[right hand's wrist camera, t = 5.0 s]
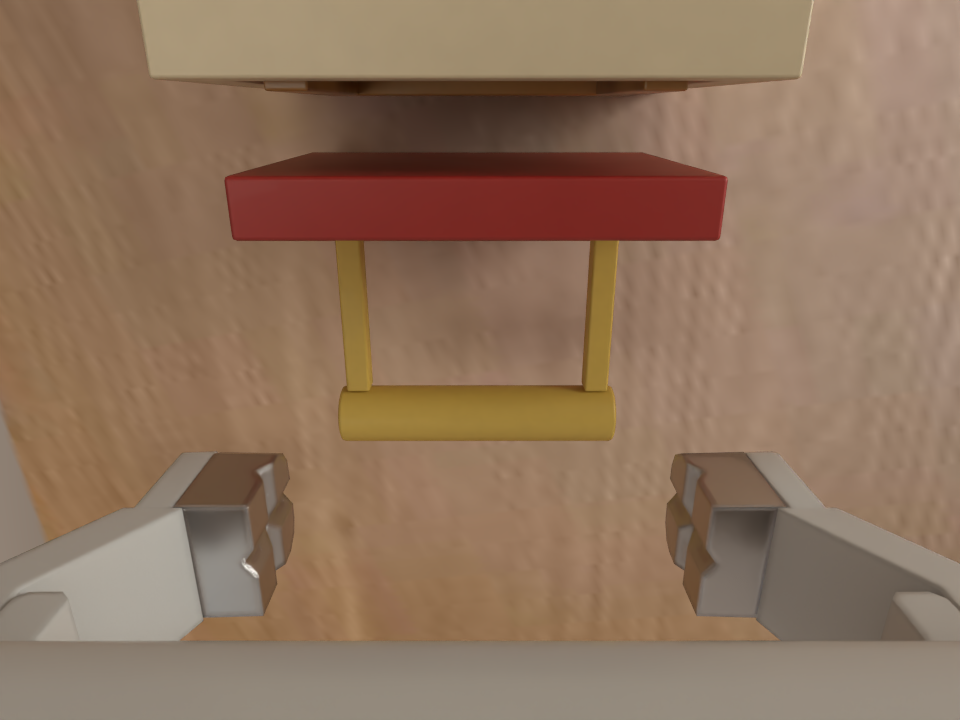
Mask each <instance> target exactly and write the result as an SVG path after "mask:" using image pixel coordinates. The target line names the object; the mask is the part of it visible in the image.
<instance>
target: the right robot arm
mask: <svg viewBox="0 0 960 720" xmlns="http://www.w3.org/2000/svg"><path fill="white" fill-rule="evenodd" d="M289 479H290V477H289V470H288V464H287V459H286V458H285V456H284V455H283V453H239V452H219V453H218V452H216V451H214V452H187V453H182V454H181V455H180V456H179V457H178V458H177V459H176V460H175V461H174V463H173V464H172V465H171V466H170V467H169V468H168V469H167V471H166V472H165V473H164V474H163V475H162V476H161V477H160V479H159V480H158V481H157V482H156V483H155V484H154V485H153V487H152V488H151V489H150V490H149V491H148V492H147V493H146V495H145V496H144V497H143V498H142V499H141V500H140V501H139V503H138V504H137V505H136V506H135V507H134V508H122V509H120V510H117V511H115V512H113V513H111V514H109V515H106V516H104V517H102V518H100V519H97V520H95V521H93V522H91V523H89V524H86V525H84V526H82V527H80V528H78V529H75V530H73V531H71V532H69V533H66V534H64V535H62V536H60V537H58V538H55V539H53V540H51V541H49V542H46V543H44V544H42V545H40V546H38V547H35V548H33V549H31V550H29V551H27V552H24V553H22V554H20V555H18V556H15V557H13V558H11V559H9V560H7V561H4V562H2V563H0V720H960V563H957V562H955V561H953V560H951V559H949V558H946V557H944V556H942V555H940V554H937V553H935V552H933V551H931V550H929V549H926V548H924V547H922V546H920V545H918V544H915V543H913V542H911V541H909V540H907V539H904V538H902V537H900V536H898V535H896V534H893V533H891V532H889V531H887V530H884V529H882V528H880V527H878V526H876V525H873V524H871V523H869V522H867V521H865V520H862V519H860V518H858V517H856V516H854V515H851V514H849V513H847V512H845V511H842V510H840V509H838V508H826V507H825V506H824V505H823V504H822V503H821V502H820V500H819V499H818V498H817V497H816V496H815V495H814V494H813V492H812V491H811V490H810V489H809V488H808V487H807V486H806V484H805V483H804V482H803V481H802V480H801V479H800V478H799V476H798V475H797V474H796V473H795V472H794V471H793V470H792V468H791V467H790V466H789V465H788V464H787V463H786V462H785V460H784V459H783V458H782V457H781V456H780V455H779V454H778V453H775V452H772V451H767V452H745V453H744V452H725V453H684V454H677V455H675V457H674V460H673V463H672V469H671V476H670V480H671V482H672V484H673V486H674V488H675V490H676V492H677V493H676V494H675V496H674V497H673V498H672V499H671V500H670V501H669V502H668V503H667V511H666V522H665V523H666V539H667V544H668V548H669V552H670V555H671V557H672V560H673V562H674V564H675V565H677V566H678V567H680V568H681V569H683V570H684V578H683V586H684V588H685V590H686V593H687V595H688V597H689V599H690V602H691V604H692V606H693V609H694V611H695V613H696V615H697V616H719V617H755V618H757V619H756V620H757V621H758V622H759V623H760V624H762V625H763V626H764V627H765V628H766V629H768V630H769V631H770V632H771V633H772V634H774V635H775V636H776V637H777V638H778V639H780V640H781V641H179V640H181V639H182V638H183V637H184V636H185V635H187V634H188V633H189V632H190V631H191V630H193V629H194V628H195V627H196V626H197V625H199V624H200V623H201V622H202V621H203V618H204V617H240V616H263V615H264V613H265V611H266V609H267V606H268V604H269V602H270V599H271V597H272V595H273V592H274V590H275V588H276V585H277V578H276V570H277V569H279V568H280V567H282V566H283V565H285V564H286V562H287V559H288V557H289V554H290V552H291V548H292V542H293V536H294V510H293V503H292V502H291V501H290V500H289V499H288V498H287V497H286V496H285V495H284V493H283V491H284V489H285V487H286V485H287V483H288V481H289Z"/></svg>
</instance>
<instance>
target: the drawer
mask: <svg viewBox="0 0 960 720" xmlns="http://www.w3.org/2000/svg"><path fill="white" fill-rule="evenodd" d="M263 82H264V88H265V90H266V91H275V92H289V93H302V94H316V95H330V96H624V95H637V94H650V93H664V92H677V91H686V90H687V88H688V81H263ZM727 182H728V180H727V177H725V176H723V175H719V174H716V173H712V172H709V171H705V170H702V169H698V168H695V167H691V166H688V165H684V164H681V163H677V162H674V161H670V160H667V159H663V158H660V157H656V156H652V155H649V154H645V153H309V154H306V155H302V156H298V157H295V158H291V159H287V160H284V161H280V162H277V163H273V164H269V165H266V166H262V167H258V168H255V169H251V170H248V171H244V172H240V173H237V174H233V175H229V176H227V177H225V188H226V195H227V203H228V210H229V217H230V224H231V232H232V237H233V239H234V240H237V241H335V244H336V257H337V269H338V282H339V294H340V306H341V319H342V331H343V344H344V356H345V368H346V381H347V386H345V387H343V389H342V391H341V394H340V399H339V408H338V422H339V430H340V434H341V437H342V439H343V440H346V441H609V440H611V439H612V438H613V435H614V432H615V426H616V404H615V397H614V393H613V390H612V388H611V387H610V386H608V374H609V361H610V348H611V335H612V322H613V309H614V296H615V283H616V270H617V257H618V244H619V241H715V240H718V239H719V238H720V234H721V227H722V219H723V212H724V204H725V197H726V189H727ZM364 241H590V255H589V271H588V288H587V304H586V320H585V337H584V353H583V369H582V384H583V385H402V386H371V385H372V382H373V379H372V363H371V348H370V332H369V317H368V301H367V286H366V271H365V255H364Z"/></svg>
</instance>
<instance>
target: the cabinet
mask: <svg viewBox="0 0 960 720" xmlns="http://www.w3.org/2000/svg"><path fill="white" fill-rule="evenodd" d="M813 3H814V0H137V6H138V12H139V18H140V24H141V29H142V35H143V41H144V47H145V53H146V59H147V65H148V71H149V75H150V77H151V78H153V79H158V80H170V81H182V82H194V83H206V84H218V85H230V86H242V87H254V88H264V82H263V81H688V88H698V87H710V86H722V85H733V84H745V83H756V82H768V81H780V80H792V79H798V78H800V77H801V75H802V70H803V64H804V58H805V52H806V46H807V40H808V34H809V27H810V21H811V15H812V9H813Z"/></svg>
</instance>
